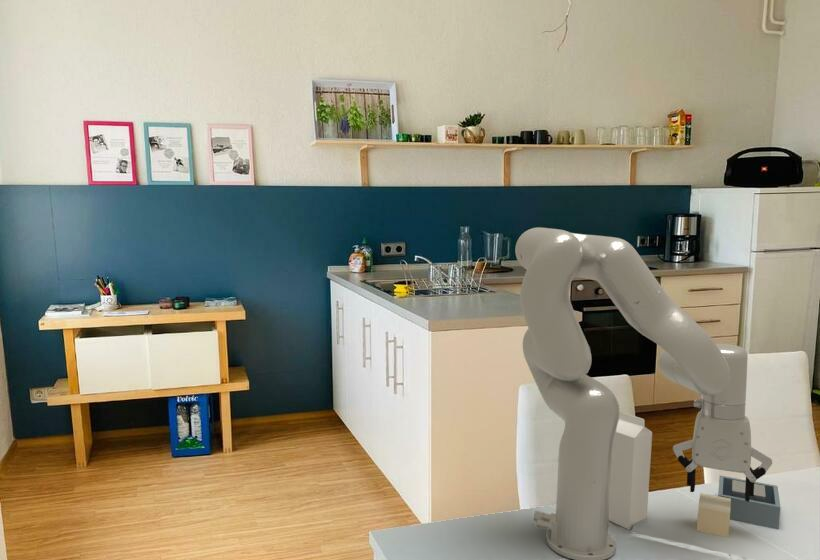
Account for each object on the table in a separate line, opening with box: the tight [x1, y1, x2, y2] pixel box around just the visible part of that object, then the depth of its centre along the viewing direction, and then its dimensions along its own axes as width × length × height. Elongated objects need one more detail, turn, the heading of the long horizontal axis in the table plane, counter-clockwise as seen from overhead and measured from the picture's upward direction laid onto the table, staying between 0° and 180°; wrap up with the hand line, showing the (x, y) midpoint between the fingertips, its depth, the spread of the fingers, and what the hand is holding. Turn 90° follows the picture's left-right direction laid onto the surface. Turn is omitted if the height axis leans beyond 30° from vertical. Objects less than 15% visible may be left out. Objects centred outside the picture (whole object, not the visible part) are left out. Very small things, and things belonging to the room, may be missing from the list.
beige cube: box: [696, 492, 731, 538], centre depth 128 cm, size 6×6×6 cm
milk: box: [608, 411, 653, 531], centre depth 131 cm, size 6×6×22 cm
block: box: [731, 480, 766, 503], centre depth 135 cm, size 6×6×5 cm
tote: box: [717, 474, 781, 530], centre depth 135 cm, size 11×11×6 cm
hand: (719, 494), depth 127 cm, fingers open, 9 cm apart
